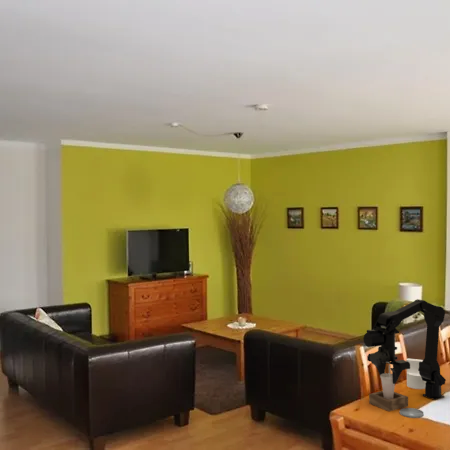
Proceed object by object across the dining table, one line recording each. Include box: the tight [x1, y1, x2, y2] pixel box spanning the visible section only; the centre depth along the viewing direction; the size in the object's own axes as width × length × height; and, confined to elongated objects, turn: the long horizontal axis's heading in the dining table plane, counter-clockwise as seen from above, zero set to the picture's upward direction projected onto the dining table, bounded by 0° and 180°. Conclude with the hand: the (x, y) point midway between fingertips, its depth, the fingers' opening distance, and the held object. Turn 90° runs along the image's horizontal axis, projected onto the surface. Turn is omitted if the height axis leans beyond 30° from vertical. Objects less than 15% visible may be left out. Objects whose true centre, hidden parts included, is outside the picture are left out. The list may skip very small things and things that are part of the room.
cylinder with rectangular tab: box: [406, 358, 426, 390], centre depth 249 cm, size 9×9×12 cm
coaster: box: [399, 407, 424, 419], centre depth 214 cm, size 9×9×1 cm
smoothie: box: [379, 364, 396, 399], centre depth 224 cm, size 6×6×14 cm
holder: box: [368, 390, 409, 412], centre depth 224 cm, size 11×11×4 cm
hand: (388, 381), depth 224 cm, fingers closed on smoothie, 6 cm apart
